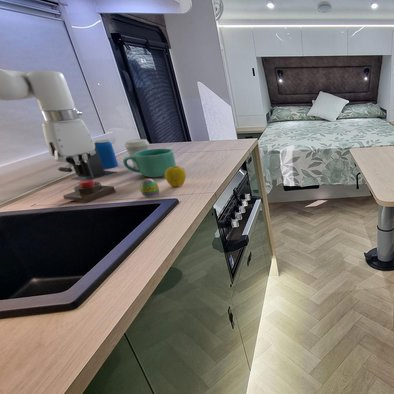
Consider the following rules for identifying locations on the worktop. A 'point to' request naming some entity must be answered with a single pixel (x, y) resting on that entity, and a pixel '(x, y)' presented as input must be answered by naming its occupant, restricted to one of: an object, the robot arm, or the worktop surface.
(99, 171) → the toaster bracket
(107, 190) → the button block
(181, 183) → the apple
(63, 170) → the toaster lever
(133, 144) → the coffee cup
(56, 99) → the robot arm
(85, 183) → the stop button
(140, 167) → the mug
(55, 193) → the worktop surface
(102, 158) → the beverage can
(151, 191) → the egg
